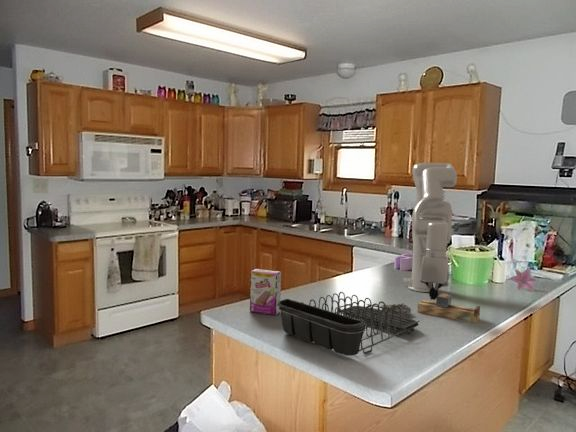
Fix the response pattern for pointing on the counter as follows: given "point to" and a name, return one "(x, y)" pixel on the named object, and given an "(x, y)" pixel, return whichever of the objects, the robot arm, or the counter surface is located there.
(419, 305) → the rail
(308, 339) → the dish rack
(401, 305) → the egg carton
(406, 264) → the clip
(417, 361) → the counter surface
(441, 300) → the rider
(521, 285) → the lily
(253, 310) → the candy bar box
